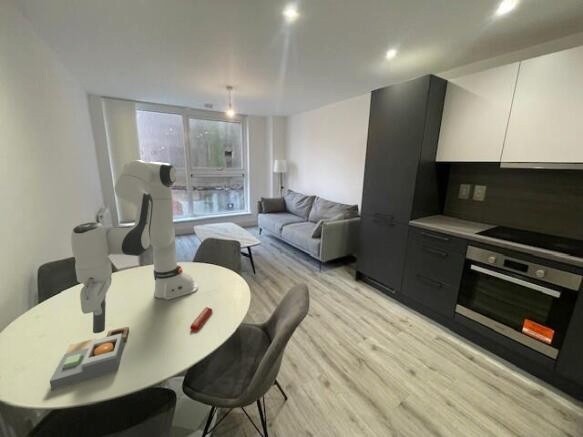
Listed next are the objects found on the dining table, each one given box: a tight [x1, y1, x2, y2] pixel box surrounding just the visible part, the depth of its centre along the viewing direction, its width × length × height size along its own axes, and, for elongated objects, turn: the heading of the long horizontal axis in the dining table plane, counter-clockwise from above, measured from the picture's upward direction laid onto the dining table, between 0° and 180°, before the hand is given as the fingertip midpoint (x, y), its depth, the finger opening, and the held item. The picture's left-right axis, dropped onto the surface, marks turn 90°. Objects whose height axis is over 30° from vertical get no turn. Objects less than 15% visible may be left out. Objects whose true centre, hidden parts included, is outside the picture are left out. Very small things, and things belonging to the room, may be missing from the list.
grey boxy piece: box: [49, 333, 125, 391], centre depth 81 cm, size 17×12×6 cm
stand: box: [106, 326, 130, 344], centre depth 95 cm, size 7×7×2 cm
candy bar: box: [189, 306, 213, 332], centre depth 107 cm, size 16×4×3 cm, turn 173°
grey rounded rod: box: [92, 300, 107, 334], centre depth 80 cm, size 3×3×10 cm
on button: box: [64, 354, 82, 369], centre depth 79 cm, size 4×4×3 cm
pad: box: [64, 338, 97, 355], centre depth 89 cm, size 8×8×1 cm
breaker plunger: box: [94, 343, 114, 356], centre depth 83 cm, size 5×5×3 cm
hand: (100, 310), depth 80 cm, fingers closed on grey rounded rod, 3 cm apart
